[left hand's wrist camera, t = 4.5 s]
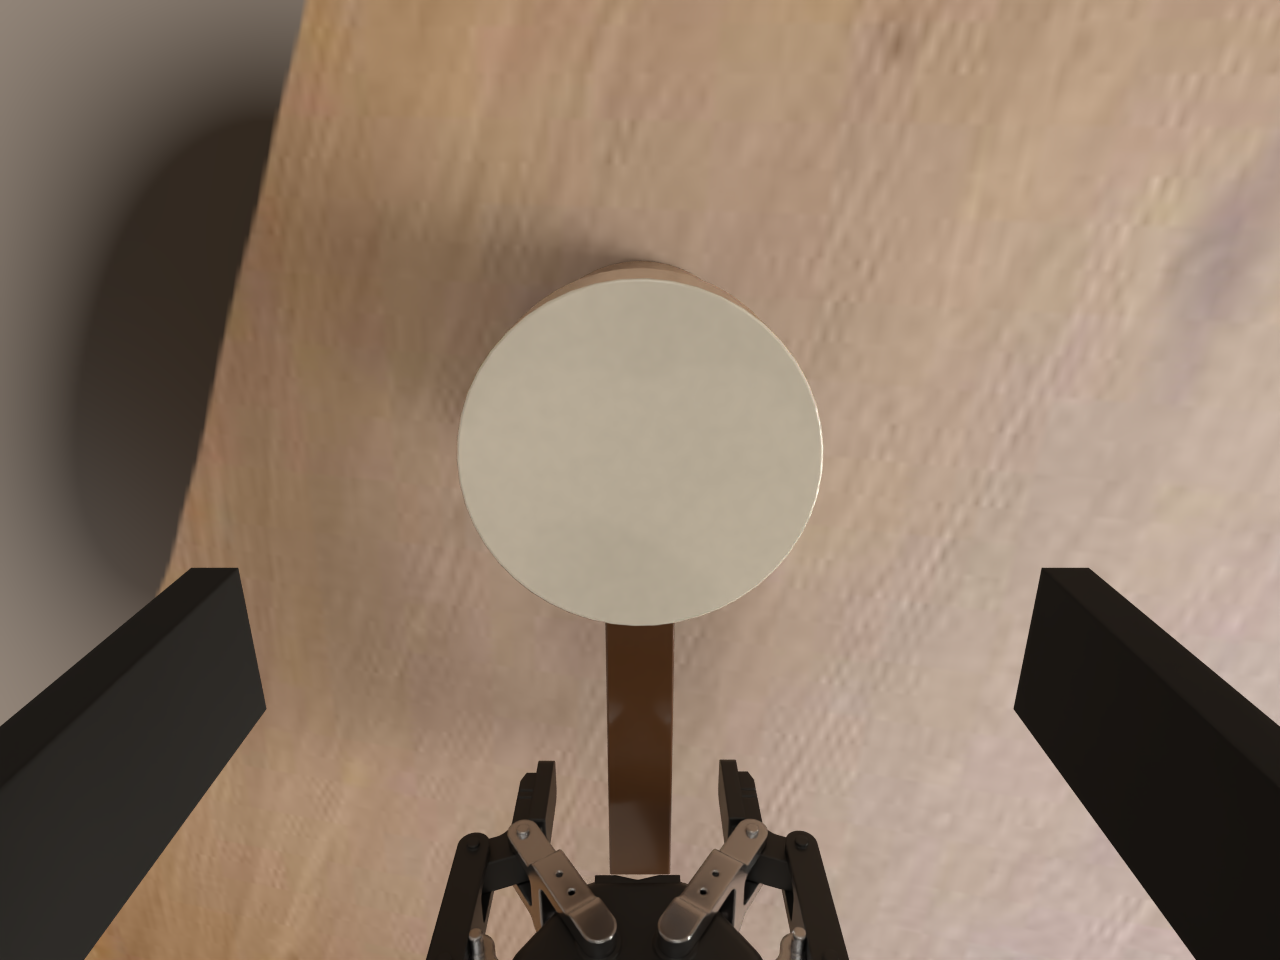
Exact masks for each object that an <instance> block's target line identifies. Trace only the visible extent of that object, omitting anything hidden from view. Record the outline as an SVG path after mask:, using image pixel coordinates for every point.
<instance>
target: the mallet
mask: <svg viewBox="0 0 1280 960" xmlns="http://www.w3.org/2000/svg"><path fill="white" fill-rule="evenodd" d="M633 268H650V269H660V270H669V271H673V272H677V273H681V274H685V275H690V276H693V277H695V278H698V277H696V276H694V275H692V274H691V273H689V272H687V271H685V270H683V269H680V268H677V267H674V266H671V265H668V264H663V263H658V262H650V261H630V262H622V263H617V264H612V265H609V266H606V267H603V268H600V269H597V270H595V271H593V272H591V273H589V274H588V275H586V276H584V277H582V278H585V277H588V276H591V275H595V274H598V273H601V272H607V271H613V270H619V269H633ZM582 278H581V279H582ZM698 279H699V278H698ZM700 280H701V279H700ZM674 624H675V623H669V624H662V625H648V626H630V625H618V624H610V623H605V625H606V682H607V738H608V794H609V851H610V874H670V850H671V793H672V737H673V680H674Z"/></svg>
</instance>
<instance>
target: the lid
mask: <svg viewBox="0 0 1280 960" xmlns="http://www.w3.org/2000/svg"><path fill="white" fill-rule="evenodd" d="M457 466H458V475H459V483H460V487H461V491H462V494H463V498H464V502H465V505H466V508H467V510H468V513H469V515H470V517H471V520H472V522H473V525H474V527H475V528H476V530H477V532H478V534H479V535H480V537H481V539H482V541H483V542H484V544H485V545H486V547H487V548H488V549H489V551H490V552H491V553H492V555H493V556H494V557H495V559H496V560H497V561H498V563H499V564H500V565H501V566H502V567H503V568H504V569H505V570H506V571H507V572H508V573H509V574H510V575H511V576H512V577H513V578H514V579H515V580H517V581H518V582H519V583H520V584H522V585H523V586H524V587H526V588H527V589H528V590H529V591H531V592H532V593H534V594H535V595H537V596H539V597H540V598H542V599H543V600H545V601H547V602H548V603H550V604H552V605H554V606H556V607H559V608H561V609H563V610H565V611H567V612H569V613H572V614H575V615H578V616H581V617H584V618H587V619H590V620H595V621H600V622H605V623H610V624H618V625H630V626H648V625H662V624H669V623H676V622H681V621H684V620H688V619H692V618H696V617H700V616H702V615H705V614H707V613H710V612H712V611H715V610H718V609H720V608H722V607H724V606H726V605H728V604H729V603H731V602H733V601H735V600H737V599H739V598H740V597H742V596H743V595H745V594H746V593H747V592H749V591H750V590H752V589H753V588H755V587H756V586H757V585H759V584H760V583H761V582H762V581H763V580H764V579H765V578H766V577H768V576H769V575H770V574H771V573H772V572H773V571H774V570H775V569H776V568H777V567H778V565H779V564H780V563H781V562H782V561H783V560H784V559H785V557H786V556H787V555H788V554H789V552H790V551H791V549H792V548H793V546H794V545H795V543H796V542H797V540H798V539H799V537H800V536H801V534H802V532H803V530H804V528H805V526H806V524H807V522H808V520H809V518H810V516H811V513H812V510H813V507H814V504H815V501H816V498H817V495H818V491H819V486H820V481H821V476H822V466H823V439H822V427H821V422H820V418H819V413H818V409H817V405H816V402H815V399H814V396H813V394H812V391H811V389H810V386H809V383H808V381H807V379H806V377H805V376H804V374H803V372H802V370H801V368H800V367H799V365H798V363H797V361H796V360H795V358H794V357H793V356H792V354H791V353H790V352H789V350H788V349H787V348H786V347H785V345H784V344H783V343H782V341H781V340H780V339H779V338H778V337H777V336H776V335H775V334H774V333H773V332H772V331H771V330H770V329H769V328H768V327H767V326H766V325H765V324H764V323H763V322H762V321H761V320H760V319H759V318H758V317H757V316H756V315H755V314H754V313H753V312H752V311H751V310H750V309H749V308H748V307H747V306H745V305H744V304H743V303H741V302H740V301H739V300H737V299H736V298H735V297H733V296H732V295H731V294H729V293H727V292H725V291H723V290H722V289H720V288H718V287H716V286H714V285H713V284H710V283H708V282H705V281H703V280H700V279H698V278H695V277H693V276H690V275H685V274H681V273H677V272H673V271H669V270H660V269H650V268H633V269H619V270H613V271H607V272H601V273H598V274H595V275H591V276H588V277H585V278H582V279H579V280H577V281H574V282H572V283H570V284H568V285H566V286H564V287H562V288H560V289H558V290H556V291H555V292H553V293H552V294H550V295H548V296H547V297H545V298H544V299H542V300H541V301H539V302H538V303H537V304H536V305H535V306H534V307H532V308H531V309H530V310H529V311H528V312H527V313H525V314H524V315H523V316H522V317H521V318H520V319H519V320H518V321H517V322H516V323H515V324H514V325H513V326H512V327H511V328H510V330H509V331H508V332H507V333H506V334H505V335H504V336H503V337H502V338H501V340H500V341H499V342H498V343H497V344H496V345H495V346H494V348H493V349H492V350H491V351H490V353H489V354H488V356H487V357H486V359H485V360H484V362H483V363H482V365H481V366H480V368H479V369H478V371H477V373H476V375H475V378H474V380H473V382H472V384H471V386H470V388H469V390H468V393H467V396H466V399H465V402H464V406H463V409H462V412H461V416H460V423H459V429H458V435H457Z"/></svg>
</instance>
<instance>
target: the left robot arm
mask: <svg viewBox="0 0 1280 960" xmlns="http://www.w3.org/2000/svg"><path fill="white" fill-rule="evenodd" d="M265 710H266V704H265V699H264V694H263V689H262V684H261V679H260V674H259V669H258V664H257V659H256V654H255V649H254V644H253V639H252V634H251V629H250V624H249V619H248V614H247V609H246V604H245V599H244V594H243V589H242V584H241V579H240V574H239V569H238V568H191V569H189V570H188V571H187V572H186V573H185V574H183V575H182V576H181V577H180V578H179V579H177V580H176V581H175V582H174V583H172V584H171V585H170V586H169V587H168V588H166V589H165V590H164V591H163V592H162V593H160V594H159V595H158V596H157V597H156V598H154V599H153V600H152V601H151V602H150V603H148V604H147V605H146V606H145V607H144V608H142V609H141V610H140V611H139V612H138V613H136V614H135V615H134V616H133V617H132V618H130V619H129V620H128V621H127V622H126V623H124V624H123V625H122V626H121V627H119V628H118V629H117V630H116V631H115V632H113V633H112V634H111V635H110V636H109V637H107V638H106V639H105V640H104V641H103V642H101V643H100V644H99V645H98V646H97V647H95V648H94V649H93V650H92V651H91V652H89V653H88V654H87V655H86V656H85V657H83V658H82V659H81V660H80V661H79V662H77V663H76V664H75V665H74V666H73V667H71V668H70V669H69V670H68V671H67V672H65V673H64V674H63V675H62V676H60V677H59V678H58V679H57V680H56V681H54V682H53V683H52V684H51V685H50V686H48V687H47V688H46V689H45V690H44V691H42V692H41V693H40V694H39V695H38V696H36V697H35V698H34V699H33V700H32V701H30V702H29V703H28V704H27V705H26V706H24V707H23V708H22V709H21V710H20V711H18V712H17V713H16V714H15V715H14V716H12V717H11V718H10V719H9V720H8V721H6V722H5V723H4V724H3V725H1V726H0V960H84V959H85V958H86V956H87V955H88V954H89V952H90V951H91V949H92V948H93V947H94V945H95V944H96V943H97V941H98V940H99V938H100V937H101V936H102V934H103V933H104V932H105V930H106V929H107V927H108V926H109V925H110V923H111V922H112V921H113V919H114V918H115V916H116V915H117V914H118V912H119V911H120V910H121V908H122V907H123V905H124V904H125V903H126V901H127V900H128V899H129V897H130V896H131V894H132V893H133V892H134V890H135V889H136V888H137V886H138V885H139V883H140V882H141V881H142V879H143V878H144V877H145V875H146V874H147V872H148V871H149V870H150V868H151V867H152V866H153V864H154V863H155V861H156V860H157V859H158V857H159V856H160V855H161V853H162V852H163V850H164V849H165V848H166V846H167V845H168V844H169V842H170V841H171V839H172V838H173V837H174V835H175V834H176V833H177V831H178V830H179V828H180V827H181V826H182V824H183V823H184V822H185V820H186V819H187V817H188V816H189V815H190V813H191V812H192V811H193V809H194V808H195V806H196V805H197V804H198V802H199V801H200V800H201V798H202V797H203V795H204V794H205V793H206V791H207V790H208V789H209V787H210V786H211V784H212V783H213V782H214V780H215V779H216V778H217V776H218V775H219V773H220V772H221V771H222V769H223V768H224V767H225V765H226V764H227V762H228V761H229V760H230V758H231V757H232V756H233V754H234V753H235V751H236V750H237V749H238V747H239V746H240V745H241V743H242V742H243V740H244V739H245V738H246V736H247V735H248V734H249V732H250V731H251V730H252V728H253V727H254V725H255V724H256V723H257V721H258V720H259V719H260V717H261V716H262V714H263V713H264V712H265ZM1014 710H1015V712H1016V713H1017V714H1018V716H1019V717H1020V719H1021V720H1022V721H1023V723H1024V724H1025V725H1026V727H1027V728H1028V730H1029V731H1030V732H1031V734H1032V735H1033V736H1034V738H1035V739H1036V741H1037V742H1038V743H1039V745H1040V746H1041V747H1042V749H1043V750H1044V751H1045V753H1046V754H1047V756H1048V757H1049V758H1050V760H1051V761H1052V762H1053V764H1054V765H1055V767H1056V768H1057V769H1058V771H1059V772H1060V773H1061V775H1062V776H1063V778H1064V779H1065V780H1066V782H1067V783H1068V784H1069V786H1070V787H1071V789H1072V790H1073V791H1074V793H1075V794H1076V795H1077V797H1078V798H1079V800H1080V801H1081V802H1082V804H1083V805H1084V806H1085V808H1086V809H1087V811H1088V812H1089V813H1090V815H1091V816H1092V817H1093V819H1094V820H1095V822H1096V823H1097V824H1098V826H1099V827H1100V828H1101V830H1102V831H1103V833H1104V834H1105V835H1106V837H1107V838H1108V839H1109V841H1110V842H1111V844H1112V845H1113V846H1114V848H1115V849H1116V850H1117V852H1118V853H1119V855H1120V856H1121V857H1122V859H1123V860H1124V861H1125V863H1126V864H1127V866H1128V867H1129V868H1130V870H1131V871H1132V872H1133V874H1134V875H1135V877H1136V878H1137V879H1138V881H1139V882H1140V883H1141V885H1142V886H1143V888H1144V889H1145V890H1146V892H1147V893H1148V894H1149V896H1150V897H1151V899H1152V900H1153V901H1154V903H1155V904H1156V905H1157V907H1158V908H1159V910H1160V911H1161V912H1162V914H1163V915H1164V916H1165V918H1166V919H1167V921H1168V922H1169V923H1170V925H1171V926H1172V927H1173V929H1174V930H1175V932H1176V933H1177V934H1178V936H1179V937H1180V938H1181V940H1182V941H1183V943H1184V944H1185V945H1186V947H1187V948H1188V949H1189V951H1190V952H1191V954H1192V955H1193V956H1194V958H1195V959H1196V960H1280V726H1279V725H1277V724H1276V723H1275V722H1274V721H1273V720H1271V719H1270V718H1269V717H1268V716H1267V715H1265V714H1264V713H1263V712H1262V711H1260V710H1259V709H1258V708H1257V707H1256V706H1254V705H1253V704H1252V703H1251V702H1250V701H1248V700H1247V699H1246V698H1245V697H1244V696H1242V695H1241V694H1240V693H1239V692H1238V691H1236V690H1235V689H1234V688H1233V687H1232V686H1230V685H1229V684H1228V683H1227V682H1226V681H1224V680H1223V679H1222V678H1221V677H1220V676H1218V675H1217V674H1216V673H1215V672H1214V671H1212V670H1211V669H1210V668H1209V667H1207V666H1206V665H1205V664H1204V663H1203V662H1201V661H1200V660H1199V659H1198V658H1197V657H1195V656H1194V655H1193V654H1192V653H1191V652H1189V651H1188V650H1187V649H1186V648H1185V647H1183V646H1182V645H1181V644H1180V643H1179V642H1177V641H1176V640H1175V639H1174V638H1173V637H1171V636H1170V635H1169V634H1168V633H1167V632H1165V631H1164V630H1163V629H1162V628H1161V627H1159V626H1158V625H1157V624H1156V623H1154V622H1153V621H1152V620H1151V619H1150V618H1148V617H1147V616H1146V615H1145V614H1144V613H1142V612H1141V611H1140V610H1139V609H1138V608H1136V607H1135V606H1134V605H1133V604H1132V603H1130V602H1129V601H1128V600H1127V599H1126V598H1124V597H1123V596H1122V595H1121V594H1120V593H1118V592H1117V591H1116V590H1115V589H1114V588H1112V587H1111V586H1110V585H1109V584H1108V583H1106V582H1105V581H1104V580H1103V579H1101V578H1100V577H1099V576H1098V575H1097V574H1095V573H1094V572H1093V571H1092V570H1091V569H1089V568H1042V569H1041V574H1040V579H1039V584H1038V589H1037V594H1036V599H1035V604H1034V609H1033V614H1032V619H1031V624H1030V629H1029V634H1028V639H1027V644H1026V649H1025V654H1024V659H1023V664H1022V669H1021V674H1020V679H1019V684H1018V689H1017V694H1016V699H1015V704H1014Z"/></svg>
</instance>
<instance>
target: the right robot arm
mask: <svg viewBox="0 0 1280 960" xmlns="http://www.w3.org/2000/svg"><path fill="white" fill-rule="evenodd" d="M556 791H557V790H556V769H555V761H539V762H538V767H537V773H526V775H525V776H524V777H523V778H522V780H521V781H520V786H519V792H518V796H517V801H516V806H515V811H514V816H513V821H512V825H511V826H510V827H509V829H508V830H507V831H506V832H505V833H504V834H502V835H500V836H497V837H494V838H490V839H489V838H488V837H487V836H486V835H485V834H482V833H471V834H468V835H466V836H464V837H463V838H462V839H461V840H460V841H459V843H458V846H457V850H456V853H455V857H454V860H453V864H452V868H451V871H450V875H449V878H448V882H447V886H446V889H445V893H444V897H443V900H442V904H441V907H440V911H439V915H438V918H437V922H436V925H435V929H434V933H433V936H432V940H431V944H430V947H429V951H428V954H427V958H426V960H498V959H497V957H496V954H495V944H494V941H493V940H492V938H491V937H489V936H488V935H485V932H486V927H487V922H488V917H489V913H490V908H491V903H492V898H493V893H494V891H495V890H498V889H502V888H505V887H509V886H512V885H513V887H514V888H515V890H516V892H517V893H518V895H519V896H520V898H521V900H522V901H523V903H524V905H525V906H526V908H527V909H528V911H529V913H530V915H531V917H532V920H533V923H534V927H535V930H536V934H535V935H534V936H533V937H532V938H531V939H530V940H529V941H528V942H527V943H526V944H525V945H524V946H523V947H522V948H521V949H520V950H519V952H518V953H517V954H516V955H515V957H514V958H513V960H763V959H762V958H761V956H760V955H759V953H758V952H757V951H756V950H755V949H754V948H753V947H752V946H751V944H750V943H749V942H748V941H747V940H746V939H745V938H744V937H743V936H742V935H741V934H740V933H739V931H740V928H741V925H742V922H743V918H744V915H745V913H746V911H747V910H748V908H749V907H750V905H751V903H752V902H753V900H754V898H755V897H756V895H757V894H758V892H759V890H760V889H761V887H762V885H763V884H764V885H768V886H771V887H775V888H778V889H782V893H783V898H784V903H785V908H786V913H787V918H788V923H789V928H790V933H789V934H787V935H786V936H784V937H783V939H782V940H781V943H780V954H779V956H778V958H777V959H776V960H849V958H848V954H847V950H846V947H845V943H844V939H843V936H842V932H841V928H840V925H839V921H838V917H837V914H836V910H835V906H834V903H833V899H832V895H831V892H830V888H829V884H828V881H827V877H826V873H825V870H824V866H823V862H822V859H821V855H820V851H819V848H818V844H817V841H816V839H815V838H814V837H813V836H812V835H811V834H809V833H807V832H804V831H793V832H791V833H789V834H788V835H787V837H783V836H779V835H776V834H773V833H771V832H770V831H768V830H767V827H766V826H765V825H764V824H763V823H762V819H761V814H760V809H759V803H758V798H757V793H756V788H755V783H754V779H753V778H752V777H751V775H750V774H749V773H748V772H738V769H737V764H736V760H720V761H719V783H718V795H719V805H720V813H721V821H722V828H723V836H724V845H723V846H722V848H721V849H720V850H717V849H714V850H713V851H712V852H711V853H710V855H709V856H708V857H707V859H706V860H705V861H704V863H703V864H702V866H701V867H700V868H699V870H698V871H697V872H696V874H695V875H694V877H693V878H692V879H691V881H690V882H689V884H686V883H682V882H680V875H658V876H653V877H649V878H644V879H640V880H635V879H630V878H626V877H621V876H617V875H595V882H594V883H591V884H588V885H587V884H586V883H585V881H584V880H583V879H582V877H581V876H580V874H579V873H578V872H577V870H576V869H575V868H574V866H573V865H572V863H571V862H570V861H569V859H568V858H567V857H566V855H565V854H564V852H563V851H562V850H557V851H555V849H554V848H553V847H552V845H551V844H550V842H551V835H552V827H553V820H554V813H555V805H556Z"/></svg>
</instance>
